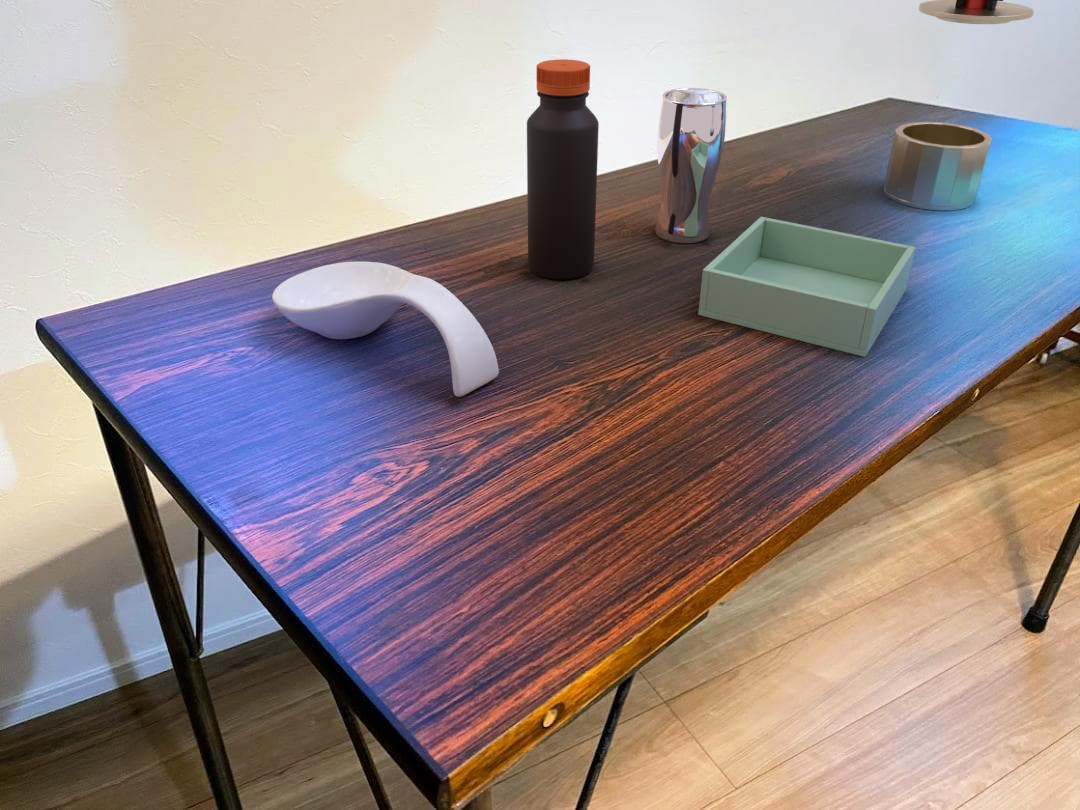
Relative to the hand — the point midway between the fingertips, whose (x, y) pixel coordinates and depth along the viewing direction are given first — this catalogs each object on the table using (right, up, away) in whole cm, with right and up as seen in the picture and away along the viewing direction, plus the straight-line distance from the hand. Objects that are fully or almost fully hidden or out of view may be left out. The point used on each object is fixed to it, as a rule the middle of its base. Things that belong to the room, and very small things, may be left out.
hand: (975, 5), depth 99 cm
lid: (0, -1, 0) cm, 1 cm away
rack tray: (-22, -34, -13) cm, 43 cm away
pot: (0, -18, +12) cm, 22 cm away
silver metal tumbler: (-32, -25, +2) cm, 40 cm away
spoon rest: (-61, -38, -19) cm, 75 cm away
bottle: (-46, -30, -6) cm, 55 cm away
